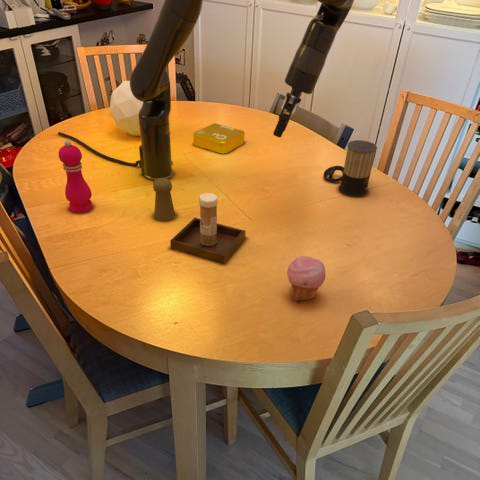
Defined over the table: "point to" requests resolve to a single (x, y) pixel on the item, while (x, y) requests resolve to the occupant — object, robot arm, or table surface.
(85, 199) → the pepper mill
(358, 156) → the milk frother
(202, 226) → the sprinkles bottle
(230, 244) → the tray
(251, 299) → the table surface
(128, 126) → the ball
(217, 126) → the element tile
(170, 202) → the olive chess pawn
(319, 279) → the cupcake
